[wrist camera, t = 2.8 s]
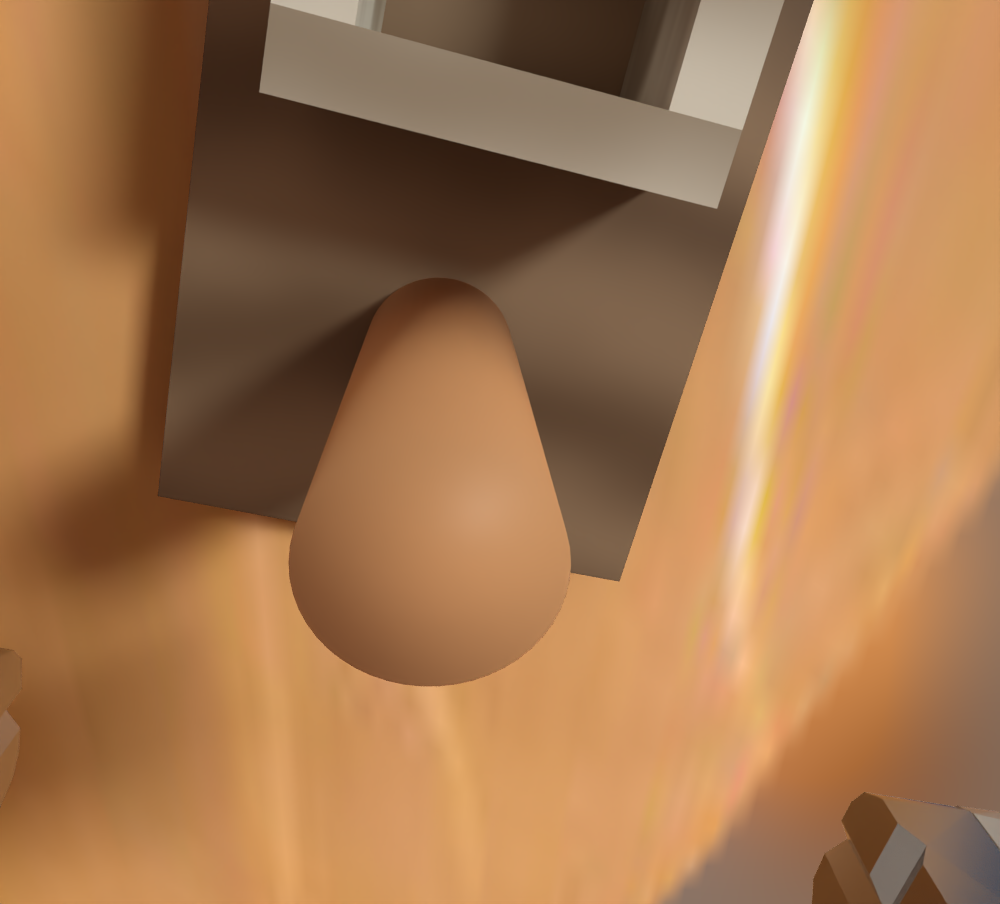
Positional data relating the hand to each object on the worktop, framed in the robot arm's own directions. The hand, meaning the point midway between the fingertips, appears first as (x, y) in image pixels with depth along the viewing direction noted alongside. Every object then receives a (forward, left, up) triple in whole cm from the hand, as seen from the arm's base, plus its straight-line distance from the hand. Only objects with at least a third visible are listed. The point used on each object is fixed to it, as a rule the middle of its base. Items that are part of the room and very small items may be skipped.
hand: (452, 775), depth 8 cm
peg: (0, 0, -16) cm, 16 cm away
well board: (+5, 0, -18) cm, 19 cm away
